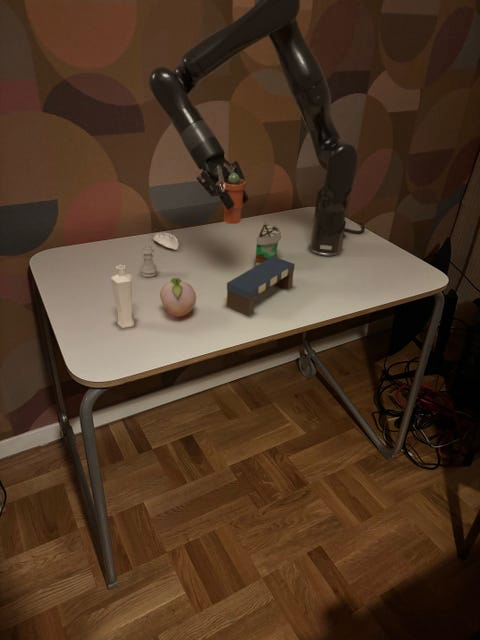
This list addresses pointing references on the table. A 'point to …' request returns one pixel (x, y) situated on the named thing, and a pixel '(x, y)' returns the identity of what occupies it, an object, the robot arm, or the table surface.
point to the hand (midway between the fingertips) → (238, 204)
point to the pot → (234, 198)
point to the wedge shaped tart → (267, 242)
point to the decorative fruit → (177, 297)
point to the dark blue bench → (258, 283)
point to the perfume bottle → (123, 296)
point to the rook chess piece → (148, 263)
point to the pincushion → (167, 240)
